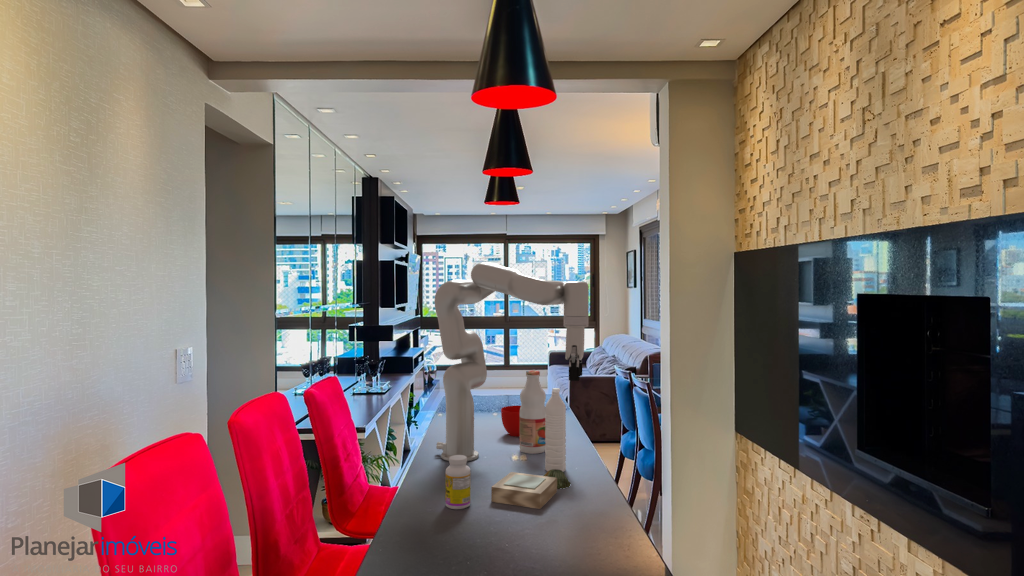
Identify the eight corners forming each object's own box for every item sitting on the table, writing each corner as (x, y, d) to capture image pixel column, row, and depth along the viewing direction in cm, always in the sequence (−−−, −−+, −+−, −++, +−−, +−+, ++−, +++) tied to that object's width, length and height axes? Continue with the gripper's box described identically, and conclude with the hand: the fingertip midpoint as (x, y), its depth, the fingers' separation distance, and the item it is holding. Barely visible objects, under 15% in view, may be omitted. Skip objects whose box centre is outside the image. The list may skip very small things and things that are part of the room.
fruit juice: (520, 446, 218) (520, 369, 217) (546, 447, 217) (546, 369, 217) (518, 454, 208) (518, 373, 208) (546, 454, 208) (546, 373, 207)
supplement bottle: (445, 501, 163) (445, 453, 163) (470, 500, 164) (470, 453, 163) (445, 510, 156) (445, 461, 156) (470, 509, 157) (470, 460, 157)
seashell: (534, 473, 175) (544, 463, 184) (533, 487, 175) (542, 477, 184) (567, 479, 171) (576, 469, 181) (566, 494, 171) (574, 483, 181)
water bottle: (565, 473, 187) (565, 393, 187) (544, 472, 188) (544, 392, 187) (566, 465, 196) (566, 388, 195) (546, 464, 196) (546, 387, 196)
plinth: (491, 501, 163) (491, 485, 163) (511, 485, 176) (511, 470, 176) (540, 509, 158) (540, 492, 157) (557, 491, 170) (557, 476, 170)
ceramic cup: (545, 431, 241) (545, 406, 241) (523, 440, 226) (523, 413, 226) (517, 427, 248) (517, 402, 248) (494, 435, 233) (494, 409, 233)
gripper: (566, 320, 193) (566, 373, 193) (560, 323, 176) (560, 382, 176) (590, 320, 191) (590, 374, 192) (586, 324, 174) (585, 383, 175)
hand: (575, 378), depth 184 cm, fingers open, 9 cm apart
